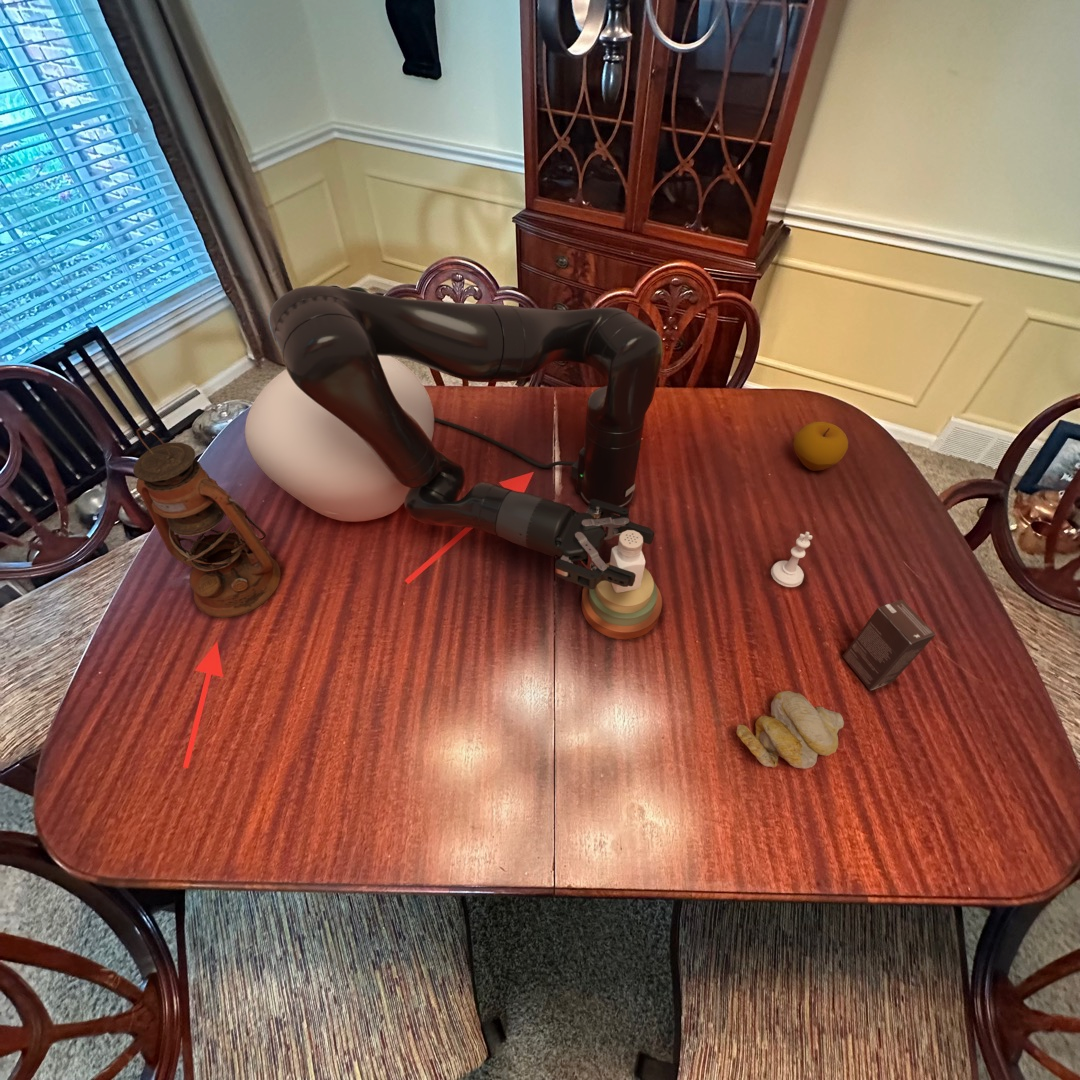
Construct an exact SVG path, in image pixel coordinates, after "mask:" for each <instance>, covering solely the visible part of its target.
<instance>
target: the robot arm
mask: <svg viewBox="0 0 1080 1080" xmlns="http://www.w3.org/2000/svg"><path fill="white" fill-rule="evenodd" d="M268 324H269V329H270V333H271V336H272V339H273V342H274V344H275V346H276V349H277V350H278V352H279V356H280V358H281V359H282V362H283V364H284V367H285V369H287V372H288V374H289V376H290V377H291V379H292V380H293V382H294V383H295V384H296V386H297V387H298V388H299V389H300V390H301V391H303V392H304V393H305V394H306V395H307V396H308V397H310V398H311V399H312V400H313V401H315V402H316V403H317V404H319V405H320V406H321V407H323V408H324V409H325V410H327V411H328V412H329V413H331V414H332V415H334V416H335V417H336V418H338V419H339V420H340V421H341V422H343V423H344V424H345V425H346V426H348V427H349V428H350V429H351V430H352V431H353V432H354V433H356V434H357V435H358V436H359V437H360V438H361V439H362V440H363V441H364V442H365V444H366V445H367V446H368V447H369V448H370V449H371V451H372V452H373V453H374V454H375V456H376V457H377V458H378V459H379V460H380V462H381V463H382V464H383V465H384V466H385V467H386V469H387V470H388V471H389V472H390V473H391V474H392V475H393V477H394V478H395V479H396V480H397V481H398V482H399V483H401V484H402V485H404V486H406V487H409V488H410V489H409V491H408V493H407V495H406V497H405V502H404V503H403V504H404V508H405V510H406V512H407V514H408V515H409V516H410V517H411V518H412V519H413V520H414V521H417V522H419V523H422V524H425V525H430V526H439V527H461V528H471V529H475V530H479V531H483V532H485V533H487V534H492V535H495V536H497V537H500V538H502V539H503V540H506V541H508V542H510V543H512V544H515V545H518V546H520V547H524V548H527V549H530V550H533V551H536V552H539V553H541V554H543V555H547V556H551V557H553V558H556V557H560V558H558V559H556V561H555V563H554V564H555V567H554V575H555V577H557V578H560V579H562V580H564V581H568V582H571V583H572V584H575V585H578V586H580V587H583V588H584V587H586V588H589V589H595V588H596V586H597V584H599V583H600V582H601V581H608V582H611V583H614V584H617V585H620V586H623V587H628V586H633V584H634V582H635V577H636V574H635V573H633V572H630V571H627V570H624V569H621V568H618V567H615V566H613V565H609V567H607V565H606V564H607V563H605V561H604V560H603V559H602V558H601V556H600V554H599V552H600V548H601V547H603V545H604V543H605V541H609V540H611V539H613V538H615V537H619V536H620V535H621V533H622V532H624V531H627V530H634V531H636V532H639V533H640V534H641V536H642V537H643V544H647V545H651V544H652V543H653V541H654V536H655V531H654V530H652V529H651V528H650V527H649V526H644V525H642V524H639V523H635V522H632V521H631V520H630V517H629V516H630V509H628V508H627V506H629V505H630V504H631V503H632V500H633V497H634V491H635V489H636V483H635V481H636V476H637V470H638V463H639V457H640V451H641V446H642V445H641V444H642V439H643V432H644V425H645V420H646V414H647V412H648V410H649V409H650V407H651V404H652V402H653V400H654V396H655V392H656V387H657V383H658V379H659V375H660V371H661V366H662V361H663V355H664V348H663V347H664V344H663V340H662V337H661V336H660V334H659V333H658V332H657V331H656V330H655V329H653V327H651V326H650V325H648V324H646V323H645V322H644V321H643V320H641V319H639V318H638V317H637V316H635V314H634V315H633V314H632V313H631V312H629V311H627V310H625V309H623V308H619V307H613V306H612V307H610V306H609V307H594V308H593V307H592V308H580V309H566V310H564V309H563V310H562V309H553V308H544V307H543V308H542V307H541V308H540V307H529V306H528V307H526V306H518V305H509V304H495V303H494V304H492V303H465V302H463V303H462V302H452V301H451V302H450V301H441V300H440V301H439V300H424V299H412V298H411V299H409V298H401V297H393V296H388V295H381V294H376V293H370V292H366V291H359V290H355V289H349V288H344V287H337V286H330V285H321V284H320V285H306V286H301V287H297V288H294V289H291V290H289V291H287V292H285V293H284V294H283V295H281V296H279V298H278V299H277V300H276V301H275V302H274V303H273V305H272V307H271V308H270V311H269V316H268ZM378 356H391V357H393V358H400V359H403V360H407V361H411V362H413V363H417V364H419V365H422V366H423V367H427V368H429V369H432V370H434V371H437V372H439V373H441V374H444V375H448V376H450V377H452V378H457V379H460V380H463V381H467V382H472V383H508V382H518V381H522V380H525V379H527V378H530V377H532V376H533V375H535V374H537V373H538V372H540V370H542V369H544V368H545V367H546V366H547V365H549V364H552V363H557V362H559V363H560V362H565V363H577V364H583V365H586V366H588V367H590V368H591V369H593V370H594V371H595V372H597V373H598V374H599V375H600V376H602V378H604V379H605V380H606V385H603V386H601V387H598V388H596V389H595V390H593V391H592V392H591V393H590V394H589V396H588V399H587V402H586V412H585V413H586V415H585V428H584V429H585V430H584V441H583V442H584V443H583V445H584V446H583V447H582V448H581V449H580V450H579V452H578V458H577V459H576V461H567V460H559V461H553V462H551V463H549V464H544V463H540V462H537V461H535V460H533V459H532V458H530V457H527V456H526V455H524V454H523V453H521V452H519V451H517V450H515V449H514V448H512V447H510V446H508V445H506V444H505V443H502V442H499V440H498V441H497V440H496V439H493V438H491V437H489V436H487V435H485V434H482V433H480V432H477V431H475V430H473V429H471V428H469V427H468V428H467V427H465V426H462V425H459V424H457V423H454V422H450V421H447V420H444V419H441V418H438V417H435V416H434V423H435V422H436V423H439V424H442V425H445V426H448V427H451V428H454V429H457V430H460V431H462V432H464V433H465V432H466V433H468V434H471V435H473V436H475V437H478V438H480V439H483V440H485V441H487V442H489V443H491V444H493V445H495V446H498V447H499V448H501V449H503V450H504V451H507V452H509V453H511V454H512V455H514V456H516V457H519V458H520V459H522V460H524V461H525V462H527V463H529V464H530V465H533V466H535V467H537V468H539V469H547V470H548V469H551V468H554V467H556V466H568V467H569V466H570V468H571V469H570V478H571V479H573V480H576V487H575V489H576V490H575V494H578V495H579V496H580V497H581V500H582V501H583V503H585V504H586V505H587V506H588V507H587V510H586V512H578V511H576V510H575V509H574V508H573V507H572V506H570V505H567V504H565V503H560V502H557V501H554V500H551V499H547V498H544V497H541V496H538V495H535V494H532V493H528V492H522V491H518V490H513V489H510V488H507V487H504V486H501V485H497V484H494V483H491V482H486V481H479V482H478V483H476V484H475V485H473V486H472V488H470V490H469V491H468V492H467V493H466V494H465V495H464V496H463V497H462V498H461V499H459V497H460V495H461V493H462V491H463V489H464V487H465V484H466V480H467V479H466V472H465V469H464V467H463V466H462V465H461V463H459V462H457V461H456V460H454V459H452V458H451V457H449V456H447V455H445V453H443V452H442V451H440V450H439V449H438V448H436V447H435V445H434V443H433V441H430V439H429V438H428V436H427V435H426V433H425V432H424V431H423V429H422V428H421V427H420V425H419V424H418V423H417V421H416V420H415V419H414V418H413V417H412V416H411V415H410V414H409V413H407V412H406V411H405V410H404V409H403V408H402V407H401V406H400V404H399V403H398V401H397V400H396V398H395V396H394V394H393V392H392V391H391V388H390V386H389V384H388V381H387V379H386V376H385V373H384V371H383V368H382V366H381V363H380V360H379V358H378ZM604 527H605V528H604ZM578 561H580V563H581V565H583V566H581V565H578V564H575V563H574V562H578Z"/></svg>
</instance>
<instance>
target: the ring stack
mask: <svg viewBox="0 0 1080 1080" xmlns="http://www.w3.org/2000/svg"><path fill="white" fill-rule="evenodd" d="M605 564H606V565H607V567H609V565H610V561H609V562H607V563H605ZM581 593H582V594H581V602H580V605H581V611H582V614H583V617H584V619H585V621H586V622H587V623H588V624H589V625H590V626H591V628H593V629H594V630H595V631H597V632H598V633H600V634H601V635H603V636H606V637H608V638H610V639H611V638H612V639H616V640H633V639H637V638H639V637H642V636H644V635H646V634H648V633H649V632H650V631H651V630H652V629H654V628H655V626H656V625H657V623H658V621H659V620H660V616H661V614H662V613H661V612H662V609H663V598H662V593H661V591H660V589H659V587H658V586H657V584H656V582H655V580H654V578H653V576H652V574H651V573H650V571H649V569H647V568H646V567H644V572H643V577H642V582H641V586H640V588H639V589H637V590H631V591H626V592H620V593H617V592H615V591H614V589H613V586H612V583H611V582H608V581H601V582H600V583H599V584H597V586H596V588H595V589H589V588H586V587H583V588H582V592H581Z"/></svg>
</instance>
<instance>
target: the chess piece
mask: <svg viewBox="0 0 1080 1080" xmlns="http://www.w3.org/2000/svg"><path fill="white" fill-rule="evenodd" d="M812 539H813V535H810V531H805V533H799V536H798V537H797V538H796V540H795V546H793V547H792V548H791V549H790V554H791V557H790V558H789V559H788V560H779V561H777V562H775V563H774V564H773V565H772V567H771V569H770V574H771V577H772V579H773V580H774V581H775V583H777V584H779V585H781V586H783V587H786V588H796V587H799V586H800V585H801V584H802V583H803V581H804V578H805V574H804V570H803V569H802V568H801V567H800V565H798V564H799V560H800V559H803V558H804V557H805V556H806V549H808V548H809V547H810V546H811V541H810V540H812Z"/></svg>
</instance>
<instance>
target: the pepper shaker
mask: <svg viewBox="0 0 1080 1080" xmlns="http://www.w3.org/2000/svg"><path fill="white" fill-rule="evenodd" d="M617 543H618V544H617V545H615V546H613V547H611V551H610V559H609V562H610V565H613V566H615V567H618V568H621V569H624V570H627V571H630V572H633V573H635V574H636V577H635V582H634V584H633V586H628V587H623V586H620V585H617V584H614V583H612V586H613V589H614V591H615V592H617V593H620V592H626V591H631V590H637V589H639V588H640V586H641V582H642V577H643V572H644V567H645V566H646V558H645V556H644V553H643V550H642V549H643V545H644V542H643V537H642V536H641V534H640V533H639V532H636V531H634V530H627V531H624V532H622V533H621V535H620V536H618V542H617ZM645 568H646V567H645Z"/></svg>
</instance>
